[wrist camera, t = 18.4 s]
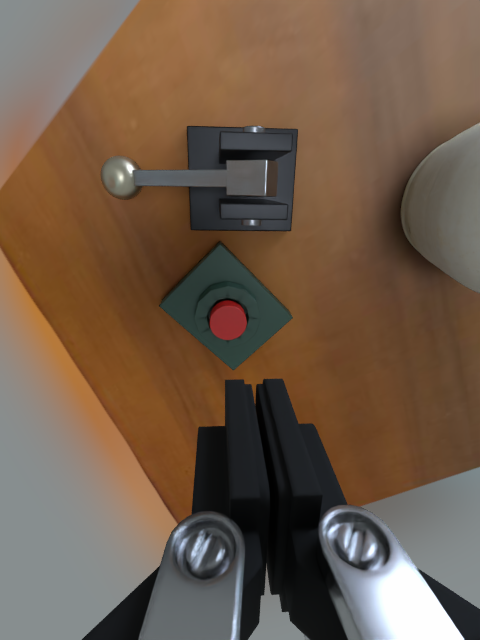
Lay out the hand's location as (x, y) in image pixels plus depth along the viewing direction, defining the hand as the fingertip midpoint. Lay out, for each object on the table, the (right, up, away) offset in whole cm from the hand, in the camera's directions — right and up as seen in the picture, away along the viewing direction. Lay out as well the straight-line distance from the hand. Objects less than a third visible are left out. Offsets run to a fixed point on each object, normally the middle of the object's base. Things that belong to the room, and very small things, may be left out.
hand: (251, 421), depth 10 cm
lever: (-4, +14, +16) cm, 21 cm away
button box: (-2, +5, +27) cm, 28 cm away
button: (-2, +3, +24) cm, 24 cm away
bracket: (0, +17, +23) cm, 28 cm away
